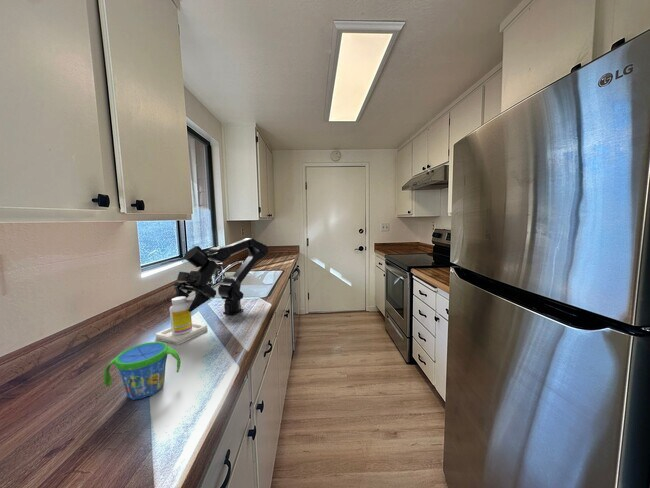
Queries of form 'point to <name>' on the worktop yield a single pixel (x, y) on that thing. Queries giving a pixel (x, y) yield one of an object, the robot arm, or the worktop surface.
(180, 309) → the supplement bottle
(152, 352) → the snack cup
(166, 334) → the tray
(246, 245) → the robot arm
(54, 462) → the worktop surface
